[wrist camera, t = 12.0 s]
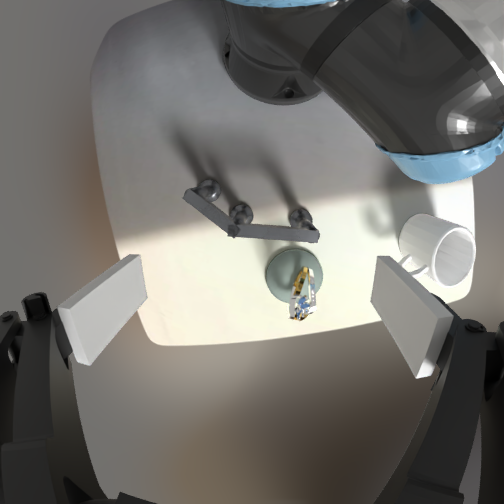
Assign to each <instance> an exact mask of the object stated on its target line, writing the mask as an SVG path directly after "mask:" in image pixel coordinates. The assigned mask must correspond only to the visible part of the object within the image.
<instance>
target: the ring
mask: <svg viewBox="0 0 504 504" xmlns="http://www.w3.org/2000/svg"><path fill="white" fill-rule="evenodd" d="M306 275H307V277H308V288H309V303H308V302H305V301H306V299H307V300H308V296H307V295H304V296H302V295H301V294H300V293H301V290H302V287H303V284H304V281H305V278H306ZM297 298H299V300H298V302H297V306H296V300H297ZM308 307H309V309H308ZM315 308H316V296H315V282H314V274H313V270H312V269H311V268H309V267H306V266H302V268H301V269H300V271H299V272H298V274H297V276H296V279H294V281H293V286H292V289H291V292H290V296H289V300H288V306H287V317H288V319H292V320H298V321H301V320H303V319H305V318H306V317H307V316H308V315H309V314H312V313H313V312H314V311H315Z"/></svg>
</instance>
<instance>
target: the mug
mask: <svg viewBox="0 0 504 504" xmlns="http://www.w3.org/2000/svg"><path fill="white" fill-rule="evenodd" d="M399 248H400V251H401V255H402V256H403V258H402V259H401V261H400V262H399V263H398V264H399V265H401V266H402V267H404V266H405V265H406V264H407V263H408V262H409V263H410V264H411V265H413V266H414V267H416V268H417V269H418V270H415V271H412V272H408V273H409V274H411V275H412V276H413V277H414V278H418V277H420V276H422V275H423V274H425V275H427V276H428V277H429V278H431V279H432V280H434V281H435V282H436V283H438V284H439V285H440V286H442V287H445V288H451V287H455V286H457V285H458V284H460V283H461V282H462V281H463V280H464V279H465V278H466V277H467V276H468V274H469V272H470V271H471V269H472V267H473V264H474V260H475V254H476V246H475V240H474V237H473V235H472V233H471V232H470V231H469V230H468V229H467V228H466V227H463V226H461V225H458V224H455V223H452V222H449V221H446V220H443V219H440V218H437V217H434V216H431V215H428V214H424V213H423V214H416V215H414V216H412V217H411V218H410V219H409V220H408V221H407V222H406V223H405V224H404V226H403V228H402V230H401V233H400V237H399Z"/></svg>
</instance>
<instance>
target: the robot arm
mask: <svg viewBox="0 0 504 504" xmlns="http://www.w3.org/2000/svg"><path fill="white" fill-rule="evenodd" d="M221 3H222V6H223V10H224V13H225V16H226V20H227V23H228V27H229V30H230V33H229V35H228V37H227V39H226V42H225V45H224V62H225V66H226V69H227V71H228V74H229V76H230V78H231V79H232V81H233V82H234V84H235V85H236V86H237V87H238V88H239V89H240V90H241V91H243V92H244V93H245V94H247V95H248V96H250V97H252V98H254V99H256V100H258V101H261V102H264V103H268V104H274V105H293V104H299V103H302V102H305V101H308V100H310V99H312V98H314V97H316V96H317V95H319V94H320V93H321V92H322V91H324V92H325V93H327V94H328V95H329V96H330V97H331V98H332V99H333V100H334V101H335V102H336V103H337V104H338V105H339V106H340V107H342V108H343V109H344V110H345V111H346V112H347V113H348V114H349V115H350V116H351V117H352V118H353V119H354V120H355V121H356V122H357V123H358V125H359V126H360V127H361V128H362V129H363V130H364V131H365V132H366V133H367V134H368V135H369V136H370V137H371V138H372V140H373V141H374V142H375V145H376V147H377V148H378V149H379V150H380V151H382V152H383V153H385V154H387V155H388V156H389V157H390V158H391V159H392V161H393V162H394V163H395V164H396V165H397V166H398V167H399V168H400V169H401V171H402V172H403V173H404V174H406V175H407V176H408V177H410V178H411V179H414V180H418V181H421V182H423V183H428V184H444V183H451V182H455V181H459V180H462V179H465V178H468V177H470V176H473V175H475V174H477V173H479V172H480V171H482V170H484V169H485V168H487V167H488V166H490V165H491V164H492V163H493V162H494V161H495V156H496V155H500V154H502V152H503V151H504V0H409V1H408V2H406V3H405V2H403V1H402V0H221ZM146 299H147V292H146V287H145V281H144V275H143V269H142V262H141V256H140V255H134V254H129V255H128V256H126V257H125V258H123V259H122V260H120V261H119V262H117V263H116V264H115V265H113V266H112V267H111V268H109V269H107V270H106V271H105V272H103V273H102V274H100V275H99V276H98V277H96V278H95V279H93V280H92V281H91V282H89V283H88V284H87V285H85V286H84V287H83V288H81V289H80V290H78V291H77V292H76V293H74V294H73V295H72V296H71V297H69V298H68V299H67V300H65V301H64V302H63V303H61V304H60V305H59V306H58V307H57V309H55V310H54V311H53V312H52V311H51V308H50V305H49V302H48V299H47V295H46V294H45V293H42V292H39V293H34V294H31V295H29V296H27V297H25V298H24V299H23V300H22V302H21V303H22V306H23V309H24V312H25V315H26V318H27V321H21V320H20V318H19V315H18V312H16V311H10V312H9V311H7V312H5V313H3V314H2V315H1V316H0V504H156V503H153V502H149V501H146V500H143V499H139V498H136V497H133V496H130V495H127V494H125V493H122V492H120V493H119V495H118V498H117V499H108V498H107V497H106V495H105V494H104V492H103V491H102V489H101V487H100V486H99V483H98V481H97V478H96V475H95V472H94V469H93V466H92V463H91V460H90V456H89V453H88V449H87V446H86V442H85V438H84V434H83V429H82V425H81V421H80V416H79V411H78V406H77V400H76V394H75V388H74V380H73V373H72V364H71V361H70V358H69V355H70V354H71V353H72V352H73V353H74V355H75V358H76V360H77V362H79V363H82V364H86V365H89V366H90V365H91V364H92V363H93V361H94V360H95V359H96V358H97V357H98V355H99V354H100V353H101V352H102V350H103V349H104V348H105V347H106V346H107V344H108V343H109V342H110V341H111V340H112V338H113V337H114V336H115V335H116V334H117V333H118V331H119V330H120V329H121V328H122V327H123V326H124V324H125V323H126V322H127V321H128V320H129V318H130V317H131V316H132V315H133V314H134V313H135V312H136V311H137V309H138V308H139V307H140V306H141V305H142V304H143V303H144V301H145V300H146ZM370 302H371V303H372V305H373V306H374V308H375V309H376V311H377V313H378V314H379V316H380V317H381V319H382V321H383V322H384V324H385V325H386V327H387V329H388V331H389V332H390V334H391V335H392V337H393V339H394V341H395V342H396V344H397V346H398V347H399V349H400V351H401V353H402V354H403V356H404V358H405V360H406V361H407V363H408V365H409V367H410V369H411V370H412V372H413V374H414V376H415V378H420V377H426V376H430V375H432V372H433V370H434V368H435V366H436V363H437V365H438V366H439V368H440V369H441V370H440V372H439V374H438V376H437V378H436V380H435V382H434V385H433V386H432V389H431V390H432V393H431V396H430V398H429V401H428V404H427V406H426V408H425V411H424V413H423V416H422V418H421V420H420V422H419V425H418V427H417V429H416V431H415V433H414V435H413V437H412V439H411V442H410V443H409V445H408V447H407V449H406V451H405V453H404V455H403V457H402V459H401V460H400V462H399V464H398V466H397V468H396V469H395V471H394V473H393V474H392V476H391V478H390V479H389V481H388V482H387V484H386V486H385V487H384V488H383V490H382V492H381V493H380V495H379V496H378V497H377V499H376V500H375V502H374V503H373V504H463V501H464V495H463V494H462V493H459V486H460V483H461V480H462V477H463V475H464V472H465V468H466V466H467V462H468V459H469V456H470V452H471V449H472V445H473V441H474V436H475V433H476V428H477V424H478V419H479V413H480V419H481V448H482V450H481V477H480V490H479V498H478V504H504V321H503V322H501V323H500V325H499V327H498V330H497V332H487V331H486V328H485V327H484V326H483V325H482V324H481V323H479V322H478V321H475V320H471V319H463V320H462V319H461V318H460V317H459V316H458V315H457V314H456V313H455V312H454V311H453V310H452V309H451V308H450V307H449V306H448V305H447V304H445V302H444V301H443V300H442V299H441V298H440V297H438V296H436V295H434V294H432V293H430V292H429V291H428V290H427V289H426V288H425V287H424V286H422V285H421V284H420V283H419V282H418V281H417V280H416V279H415V278H414V277H413V276H412V275H411V274H409V273H408V272H407V271H406V270H405V269H404V268H403V267H402V266H401V265H399V264H398V263H397V262H396V261H395V260H394V259H393V258H391V257H390V256H377V262H376V270H375V277H374V283H373V290H372V296H371V301H370ZM8 350H9V352H10V354H11V356H12V358H13V361H12V363H11V361H10V359H9V356H8Z"/></svg>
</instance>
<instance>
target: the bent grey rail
mask: <svg viewBox="0 0 504 504" xmlns="http://www.w3.org/2000/svg"><path fill="white" fill-rule="evenodd" d="M220 194H221V188H220V185H219V184H218V183H217V182H216V181H214V180H205V181H203V182H202V183H201V184H200V185H199V187H195V188H190V189H188V190H186V192H185V193H184V197H183V199H184V200H185V201H186V202H187V203H189V204H190V205H192V206H193V207H194V208H196V209H197V210H198V211H199V212H201V213H202V214H203V215H205V216H206V217H207V218H208V219H210V220H211V221H212V222H214V223H215V224H216V225H217V226H219V227H220V228H221V229H222V230H224V231H225V232H226V233H228V236H231V237H233V238H235V237H246V238H260V239H274V240H287V241H300V242H309V243H318V239H319V237H320V233H319V231H318V229H316V228H315V227H314V225H313V224H312V217H311V215H310V213H309V212H307V211H306V210H303V209H299V210H296V211H294V212H293V213H292V214H291V216H290V224H291V227H289V226H276V225H262V224H250V223H251V222H252V220H253V212H252V210H251V209H250V208H249V207H248V206H246V205H238V206H236V207H235V208H234V209H233V210H232V211H231V215H230V217H229V216H228V215H227V214H225V213H224V212H223V211H221V210H220V209H219V208H218V207H216V206H215V205H214V204H212V203H211V202H213V201H215V200H217V199H218V198H219V196H220Z"/></svg>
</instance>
